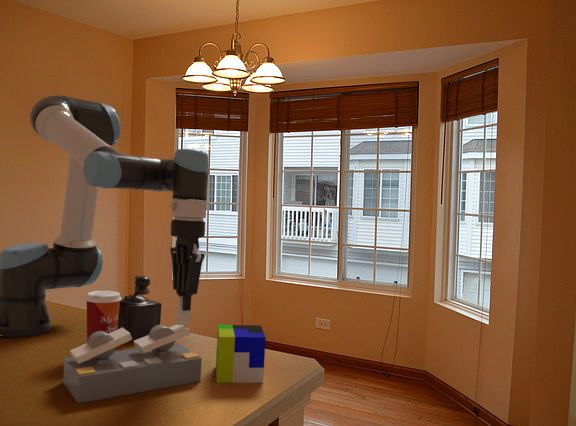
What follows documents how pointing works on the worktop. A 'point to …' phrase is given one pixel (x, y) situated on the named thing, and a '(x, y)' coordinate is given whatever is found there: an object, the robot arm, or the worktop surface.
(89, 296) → the coffee cup
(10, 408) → the worktop surface
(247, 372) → the puzzle toy
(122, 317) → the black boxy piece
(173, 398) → the worktop surface
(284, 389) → the worktop surface
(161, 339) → the rocker right
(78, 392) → the console
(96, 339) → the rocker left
